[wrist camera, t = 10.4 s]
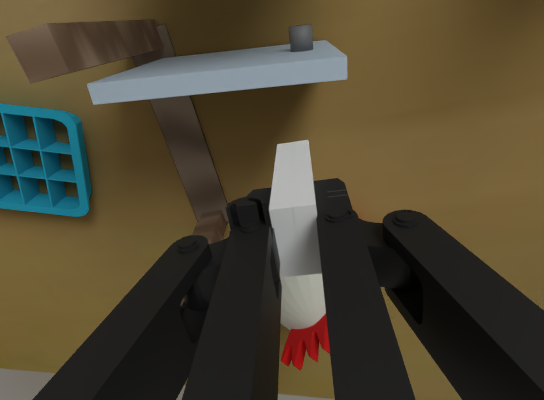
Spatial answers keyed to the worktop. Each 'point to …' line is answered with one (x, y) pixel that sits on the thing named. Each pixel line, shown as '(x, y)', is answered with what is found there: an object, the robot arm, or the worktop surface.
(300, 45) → the door
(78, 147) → the ice cube tray
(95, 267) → the worktop surface
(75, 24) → the door frame
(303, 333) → the kitchen timer
